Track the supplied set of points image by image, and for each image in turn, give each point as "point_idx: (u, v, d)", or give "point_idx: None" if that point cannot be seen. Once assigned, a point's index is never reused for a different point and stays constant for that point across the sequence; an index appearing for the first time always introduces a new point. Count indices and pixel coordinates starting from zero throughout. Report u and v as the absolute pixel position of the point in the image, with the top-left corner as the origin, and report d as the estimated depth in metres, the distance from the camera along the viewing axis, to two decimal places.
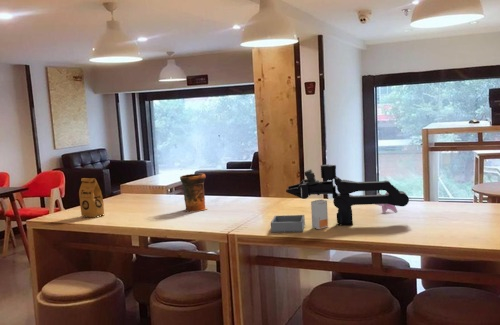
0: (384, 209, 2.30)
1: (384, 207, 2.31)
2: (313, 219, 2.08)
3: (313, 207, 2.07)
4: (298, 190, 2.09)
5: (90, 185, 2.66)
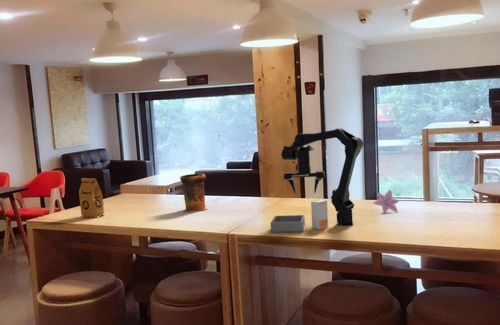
0: (385, 209, 2.30)
1: (385, 207, 2.31)
2: (313, 219, 2.08)
3: (313, 207, 2.07)
4: None
5: (90, 185, 2.66)
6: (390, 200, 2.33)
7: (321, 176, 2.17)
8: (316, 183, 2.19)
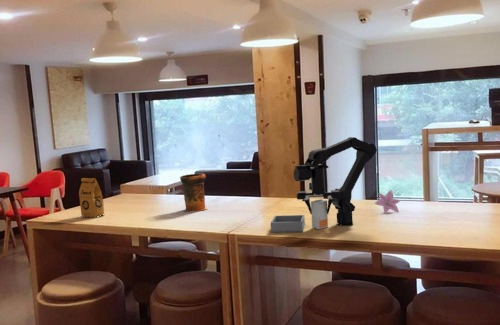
0: (386, 209, 2.30)
1: (385, 207, 2.30)
2: (313, 219, 2.08)
3: (313, 207, 2.07)
4: None
5: (90, 185, 2.66)
6: (391, 200, 2.33)
7: (337, 196, 2.03)
8: (329, 203, 2.05)
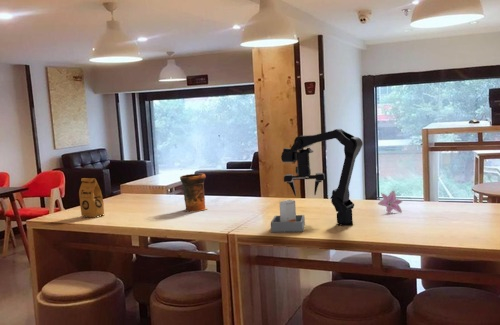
0: (389, 209, 2.29)
1: (389, 208, 2.29)
2: (281, 219, 2.09)
3: (281, 207, 2.09)
4: None
5: (90, 185, 2.66)
6: (394, 200, 2.31)
7: (321, 178, 2.18)
8: (316, 185, 2.19)
